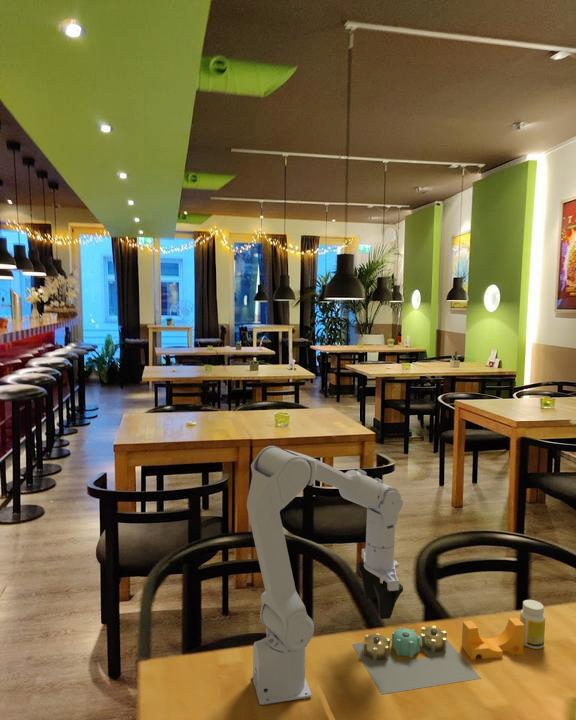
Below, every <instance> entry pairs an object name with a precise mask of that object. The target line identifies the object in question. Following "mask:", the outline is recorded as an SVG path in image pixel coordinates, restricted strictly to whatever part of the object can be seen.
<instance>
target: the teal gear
mask: <svg viewBox="0 0 576 720" xmlns="http://www.w3.org/2000/svg"><path fill="white" fill-rule="evenodd" d="M391 634H392V635H391V639H392V640H391V649H393V650H394V652H395V655H397V656H402V657H409V658H410V659H411V658H414V656H415V655H416V654H417V653H420V646H419V641H420V636H417V635H418V634H417V633H416V630H415V629H413V628H411V629H410V628H404V627H400V626H399V627H398V628H397V629H395V631H392V633H391Z"/></svg>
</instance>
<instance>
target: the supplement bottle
mask: <svg viewBox="0 0 576 720" xmlns="http://www.w3.org/2000/svg"><path fill="white" fill-rule="evenodd" d="M544 610H545V607H544V605H543V604H542V602H540V601H537V600H534V599H525V600H523V601H522V609H521V611H520V615H519V616H520V617H519V620H520V621H521V622H522V623H523V624H524V643H523V646H524V647H527V648H530V649H535V650H539V649H542V648H543V647H544V645H545V632H546V631H545V630H546V629H545V628H546V627H545V626H546V616H545V615H544V612H545V611H544Z"/></svg>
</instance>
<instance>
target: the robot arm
mask: <svg viewBox="0 0 576 720" xmlns="http://www.w3.org/2000/svg"><path fill="white" fill-rule="evenodd" d="M250 469H251V474H252V475H251V481H250V485H249V490H248V496H247V499H246V509H247V510H246V511H247V514H248V518H249V524H250V528H251V531H252V532H251V533H252V536H253V541H254V546H255V550H256V554H257V558H258V564H259V569H260V572H261V577H262V583H263V587H264V592H262V594H260V601H261V607H260V611H259V618H260V621H261V623H262V624H263V625H264V626H265V634H266V637H264V638H262V639H260V640H257V641H254V643H253V645H252V646H253V653H252V676H251V677H252V682H253V685H254V688H255V692H256V695H257V696H256V697H257V699H258V703H259V705H261V706H263V705H270V704H277V703H282V702H290V701H294V700H300V699H301V700H302V699H307V698H311V697H312V692H311V689H310V686H309V683H308V681H307V679H306V649H307V648H308V644H309V643H310V642H311V640H312V638H313V636H314V633H315V622H314V621H313V619H312V617H310V616H309V615H308V612H307V610H306V606H305V604H304V602H303V601H302V599H301V597H300V596H299V594H298V592H297V589H296V585H295V580H294V576H293V571H292V567H291V566H292V565H291V562H290V561H291V560H290V556H289V552H288V547H287V542H286V536H285V533H284V532H285V531H284V526H283V523H282V518H281V514H280V513H281V510H283V509H285V507H286V506H287V505H289V504H290V502H292V501H293V500H294V499H295V498H296V497H297V496H298V495H299V494H300V493H301V492H302V491H303V490H304V489H305V488H306V487H307V486H311V487H312V486H313V484H314V482H315V481H318V482H320V483H323V484H326V485H328V486H331V487H334V488H337V489H338V491H339V494H340V496H341V497H342V498H343V499H344V500H347V501H350V502H352V503H354V504H357V505H359V506H362V507H364V508H366V526H365V527H366V528H365V530H366V531H365V533H366V534H365V548H361V559H362V561H359V562H358V561H357V563H356V568H357V569H358V572H359V575H360V578H361V582H362V588H363V593H364V597H365V599H366V600H371V599H376V600H377V609H378V610H377V611H378V615H379V619H380V620H387V619H388V620H389V619H391V617H392V616H393V615H392V614H393V612H394V609H395V605H396V602H397V600H398V598H399V597H400V595H401V594H402V593H403V591H404V586H403V585H402V584H401V583H400V580H399V579H398V577H397V572H396V569H397V568H399V567H400V563H399V562H398V561H397V560H395V546H396V545H395V544H396V543H395V542H396V524H397V522H398V520H399V513H400V512H401V510H402V508H403V504H404V499H402V496H401V494H400V492H399V490H398V489H397V488H395V487H393V486H391V485H389V484H386V483H383V480H382V479H380V478H378V477H375V478H372V477H371V476H368V475H367V472H366V471H365V470H362V469H360V468H357V470H355V469H351V470H347V471H346V472H343V471H341V470H339V469H337V468H335V467H333V466H331V465H329V464H327V463H324V462H323V461H321V460H319V459H316V458H315V457H312V456H309V455H307V454H303V453H300V452H297V451H293V450H290V449H282V448H281V447H279V446H277V445H268V446H265V447H264V448H262V449H261V450H260V451H259V453H257V455H256V457H255V459H253V461H252V462H251V464H250ZM380 580H382V582H380ZM379 582H380V583H379Z"/></svg>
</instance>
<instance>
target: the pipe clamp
mask: <svg viewBox="0 0 576 720" xmlns="http://www.w3.org/2000/svg"><path fill="white" fill-rule="evenodd" d="M461 631H462V633H461V647H462V649H463V650H464V651H465V653H466V654H467V655H468V656H469V659H471V660H476V659H477V658H476V657H477V656H479V657H480V658H481V660H483V659H495V658H497V659H498V658H503V654H504V653H503V652H507V653H508V654H509V655H510V656H519V655H520V654H522V655H524V645H523V643H524V624H523V623H522V622H521V621H520V618H518V617H511V618H510V617H509V618H508V621H507V624H506V627H505V628H504V630H503V631H502V632H501V633H500V634H499V635H496V636H495V637H490V638H486V637H482V636H480V634H479V628H478V626H477V625H476V624H475V623H474V622H473V621H472V620H466V621H464V620H463V621H462V629H461Z"/></svg>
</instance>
